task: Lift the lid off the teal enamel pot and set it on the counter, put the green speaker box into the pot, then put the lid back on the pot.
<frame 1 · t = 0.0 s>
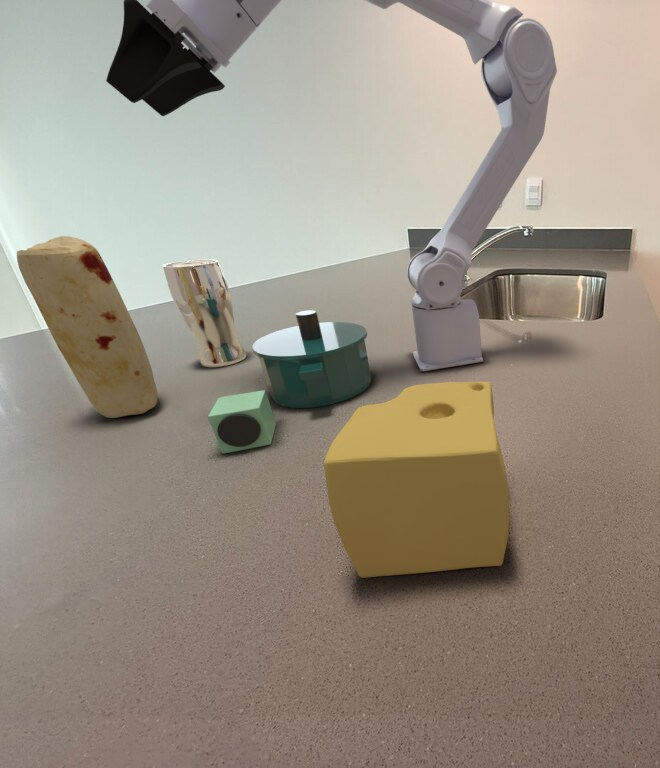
hand: (137, 100, 40), 32 cm above the countertop, tool tilted 50°, fingers open, 7 cm apart
lid: (312, 340, 52), point 6 cm above the countertop, touching pot
green speaker box: (250, 438, 43), on the countertop
beer glass: (225, 361, 65), on the countertop
pot: (323, 386, 55), on the countertop
cheese: (438, 525, 32), on the countertop
food model: (134, 409, 51), on the countertop
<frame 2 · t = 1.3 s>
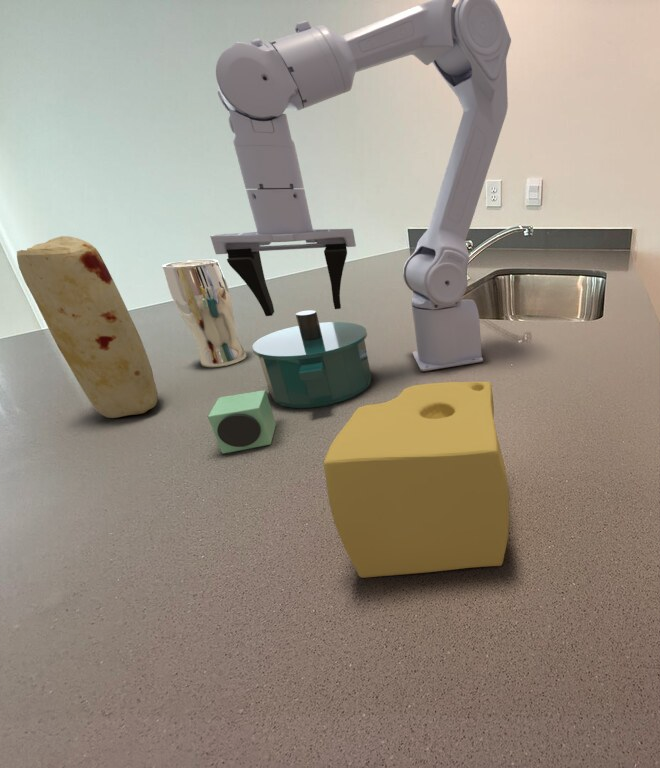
hand: (304, 310, 51), 10 cm above the countertop, tool pointing down, fingers open, 7 cm apart
nothing on the countertop moved.
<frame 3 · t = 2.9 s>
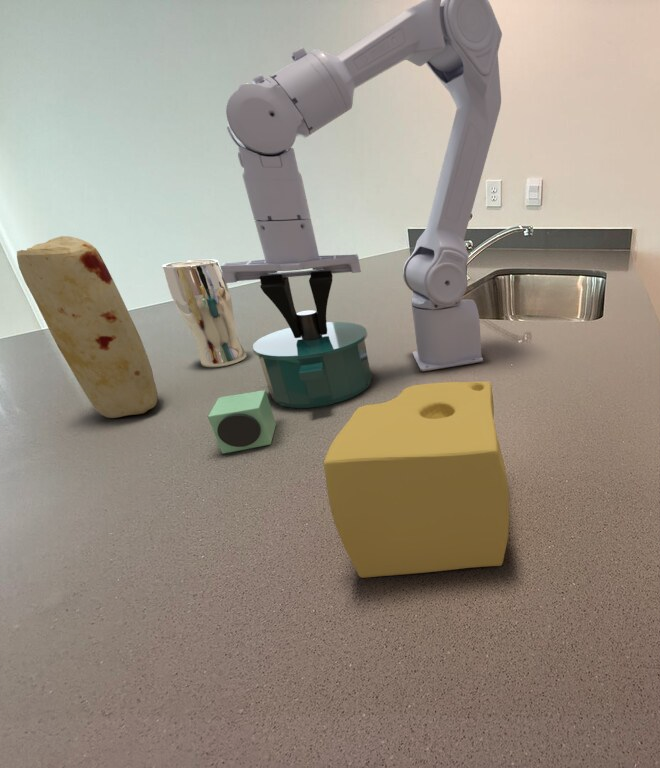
hand: (311, 334, 52), 7 cm above the countertop, tool pointing down, fingers closed on lid, 2 cm apart
lid: (313, 340, 52), point 7 cm above the countertop, touching gripper, pot
everything else where it was.
when the fingers open (1 cm above the countertop, at t = 7.4 s): lid stays where it is, point 1 cm above the countertop.
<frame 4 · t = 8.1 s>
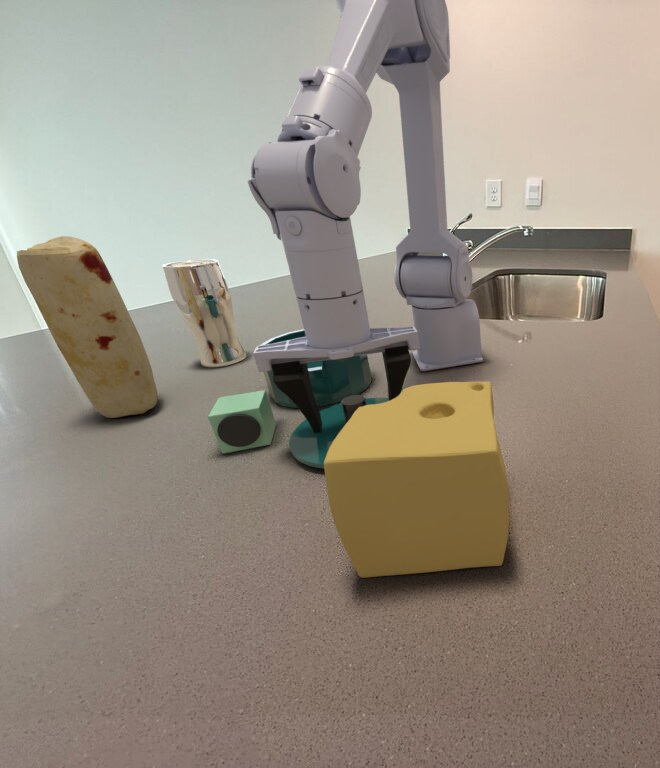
hand: (357, 420, 43), 2 cm above the countertop, tool pointing down, fingers open, 7 cm apart
lid: (359, 430, 43), point 1 cm above the countertop
everything else where it was.
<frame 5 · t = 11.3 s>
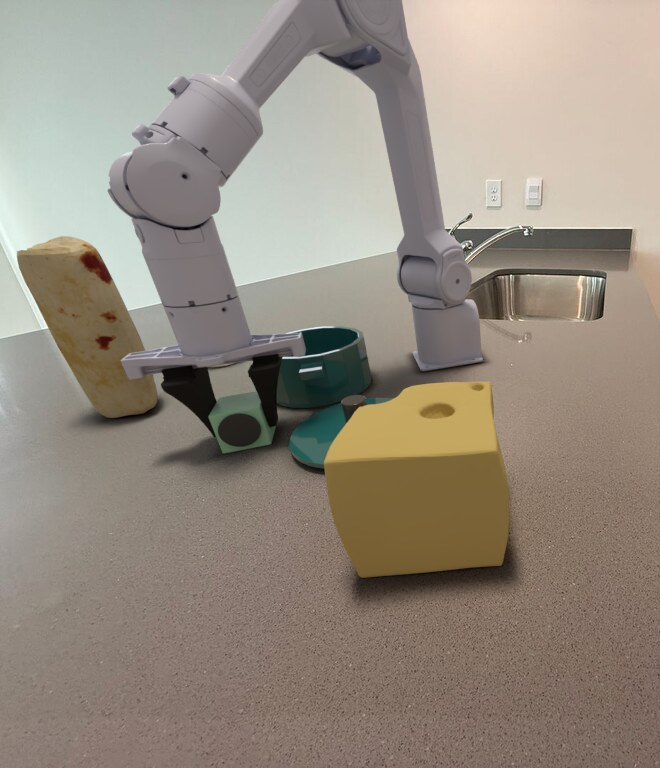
hand: (246, 427, 43), 1 cm above the countertop, tool pointing down, fingers closed on green speaker box, 4 cm apart
green speaker box: (251, 438, 44), on the countertop, touching gripper
everything else where it was.
when the fingers open (3 cm above the countertop, at t = 15.9 s): green speaker box drops 1 cm, resting on pot.
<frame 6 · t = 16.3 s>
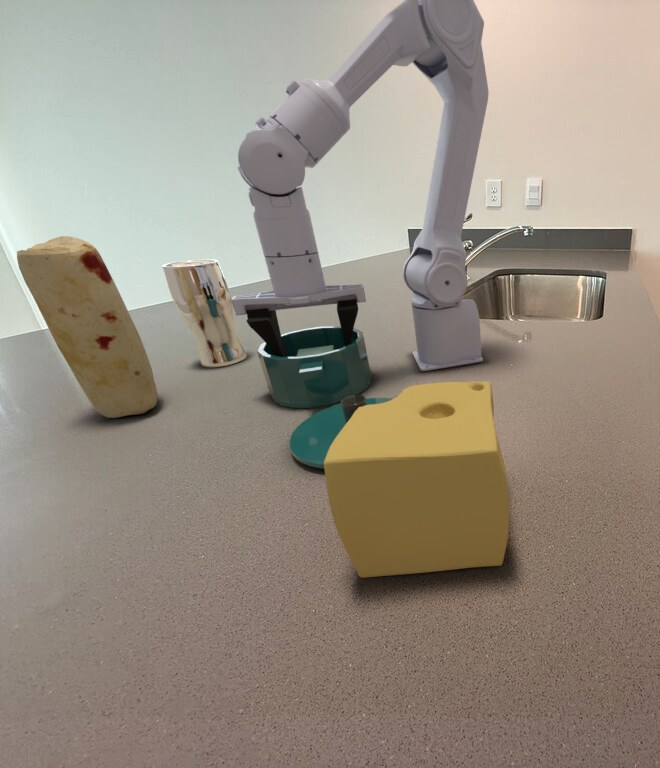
hand: (318, 361, 53), 4 cm above the countertop, tool pointing down, fingers open, 7 cm apart
green speaker box: (322, 382, 55), resting on pot
everything else where it was.
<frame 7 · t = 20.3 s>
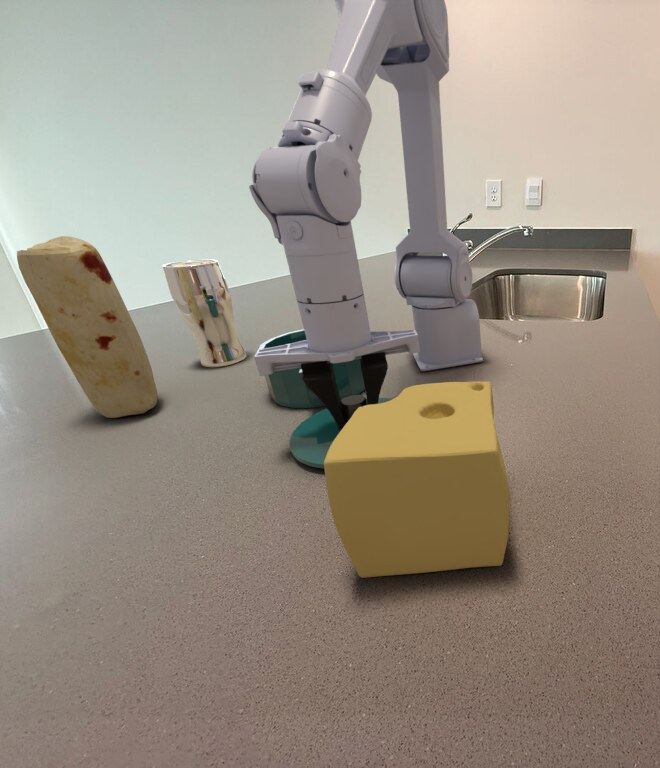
hand: (358, 423, 43), 1 cm above the countertop, tool pointing down, fingers closed on lid, 2 cm apart
lid: (359, 430, 43), point 1 cm above the countertop, touching gripper
everything else where it was.
when the fingers open (7 cm above the countertop, at t = 25.8 s): lid stays where it is, resting on pot.
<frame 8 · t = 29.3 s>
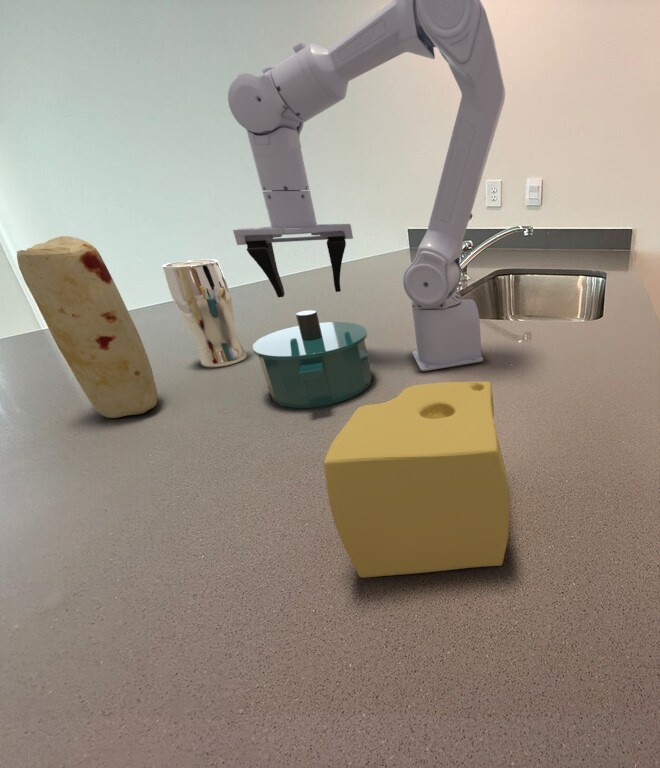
hand: (310, 293, 60), 10 cm above the countertop, tool pointing down, fingers open, 7 cm apart
lid: (313, 340, 52), point 6 cm above the countertop, touching pot
everything else where it was.
at the end: green speaker box inside the target area in the pot (0.0 cm from its centre), point 0.5 cm above the pot's base; lid 0.0 cm off-centre on the pot, point 6.5 cm above the pot's base; lid tilted 0° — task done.
